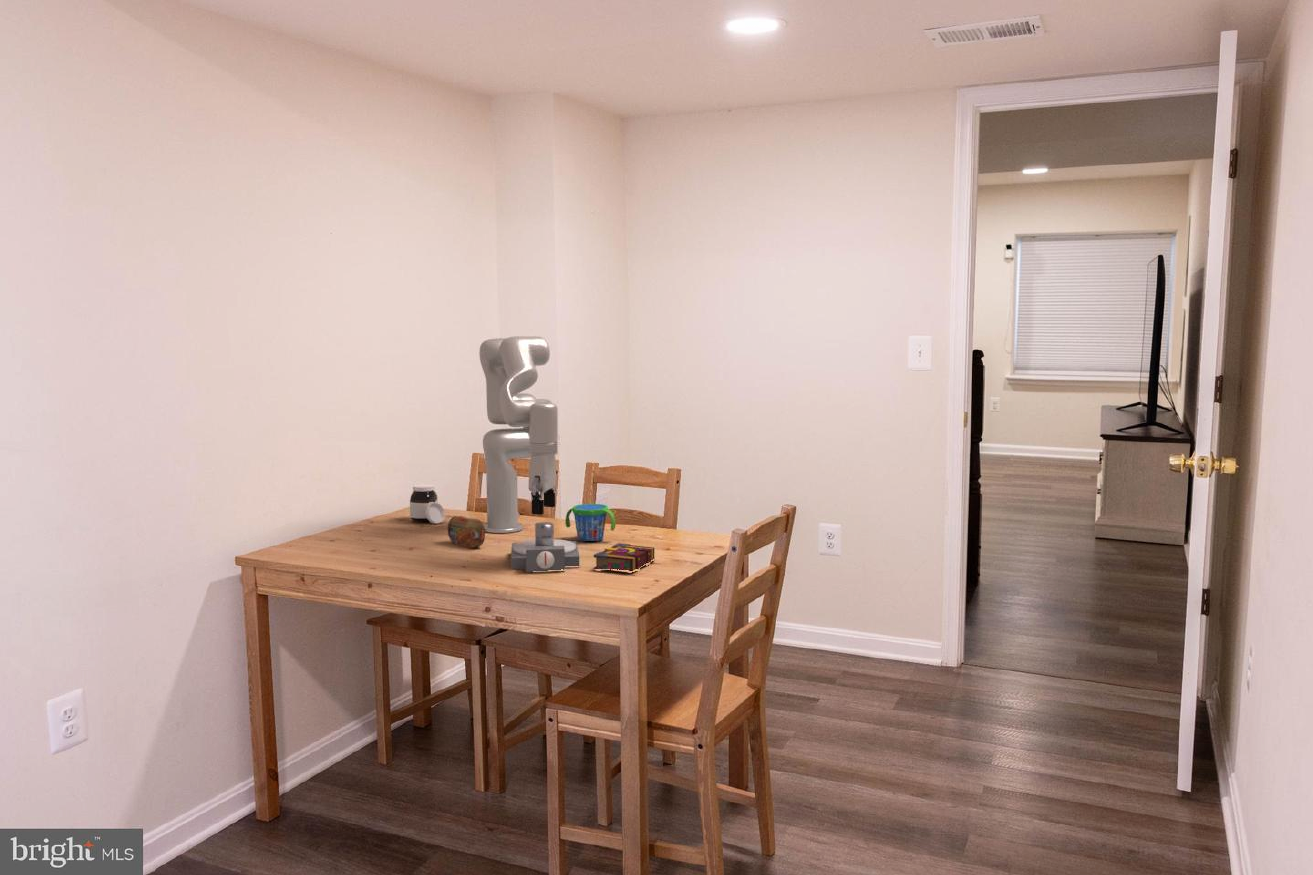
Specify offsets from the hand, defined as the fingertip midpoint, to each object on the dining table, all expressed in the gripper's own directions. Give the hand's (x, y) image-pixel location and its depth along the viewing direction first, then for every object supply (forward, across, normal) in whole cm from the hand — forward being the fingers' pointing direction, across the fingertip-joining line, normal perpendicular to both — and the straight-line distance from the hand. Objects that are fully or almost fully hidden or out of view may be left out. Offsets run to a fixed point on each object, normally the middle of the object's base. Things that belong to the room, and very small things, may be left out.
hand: (543, 510), depth 269 cm
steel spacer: (+10, 0, 0) cm, 10 cm away
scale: (+14, +3, +1) cm, 14 cm away
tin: (+15, -11, -27) cm, 33 cm away
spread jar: (+16, -40, -53) cm, 69 cm away
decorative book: (+14, +2, +23) cm, 27 cm away
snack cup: (+14, -26, +6) cm, 30 cm away
